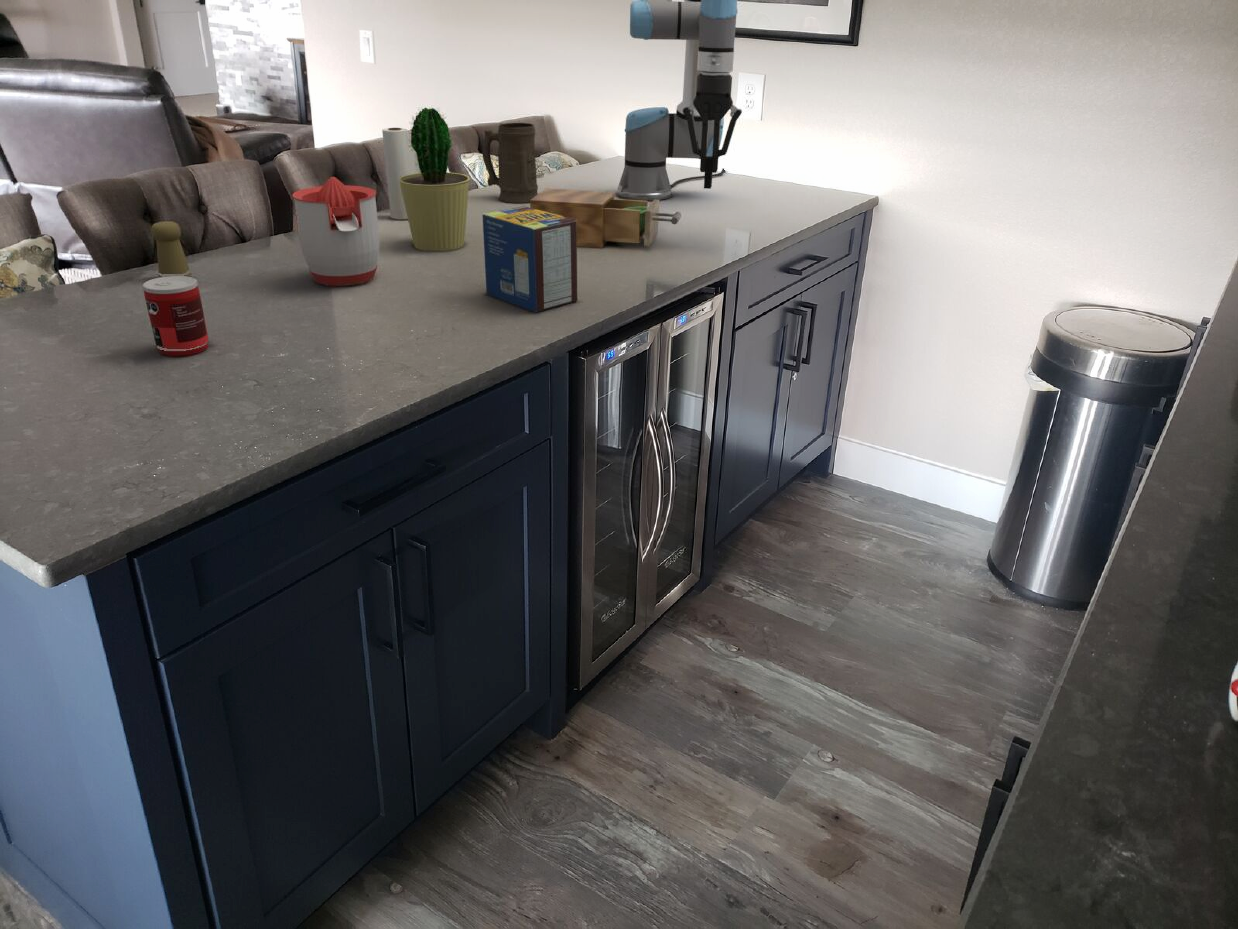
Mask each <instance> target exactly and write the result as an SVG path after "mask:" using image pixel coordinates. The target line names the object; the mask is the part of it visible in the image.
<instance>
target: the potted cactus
mask: <svg viewBox="0 0 1238 929" xmlns="http://www.w3.org/2000/svg"><path fill="white" fill-rule="evenodd" d="M418 110H419V111H418V113H417V114H415V116H414V115H411V118H412V119H411V122H409V125H410V128H409V130H411V140H410V141H411V144H412V145H411V146H412V147H413V148H412V149H413V150H415V152H416V157H417V160H418V164H419V165H418V164H417V163H416V164H417V165H418V166H419V168H420V173H415V174H409V175H405V176H402V177H400V178H399V181H400V187H401V191H402V195H403V200H404V204H405V208H406V213H407V217H408V219H407V221H408V224H409V229H410V234H411V238H412V243H413V246H414V248H415V249H418V250H420V251H427V252H447V251H454V250H459V249H461V248H462V247H464V245H465V238H466V227H467V225H466V224H467V215H468V214H467V213H468V201H469V191H470V190H469V189H470V181H471V177H470V176H469V175H467V174H464V173H458V172H449V171H448V170H450V169H451V168H450V167H449V163H450V162H449V157H450V158H453V155H452V154H451V153H450V150H451V151H454V150H453V149H452V147H453V145H452V141H454V140H455V138H453V135H452V134H453V133H455V131H452V132H449V131H450V130H449V129H450V127H449V125H448V123H447V122H446V121H445V119H446V118H447V116H445V114H444V113H441V110H440V108H438V107H437V108H434V107H431V106H430V107H429V108H427V107H425V106H424V107H418ZM444 116H445V117H444ZM408 133H409V132H408ZM409 134H410V133H409ZM451 138H453V139H451ZM407 139H408V138H407ZM408 141H409V140H408ZM409 143H410V142H409ZM411 146H408V147H411ZM412 149H411V150H412ZM415 160H416V159H415ZM415 162H416V161H415ZM452 162H454V161H452V160H451V163H452ZM414 166H415V165H414ZM416 168H417V167H416Z"/></svg>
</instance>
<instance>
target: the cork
mask: <svg viewBox="0 0 1238 929" xmlns="http://www.w3.org/2000/svg"><path fill="white" fill-rule="evenodd" d="M150 231H151V235H152V238H153V239H154V240H155V241H156V253H157V266H158V278H160V277H162V276H160V275H159V273H161V274H183V273H186V272H187V271H189V270H190V269H191V268H190V266H189V262H188V261H187V258H186V255H185V251H184V249H183V246H182V243H181V241H180V238H181V234H182V232H181V228H180V225H179V224H178V223H177V222H174V221H167V220H166V221H159V222H155V223H153V224H152V226H151V228H150ZM184 276H186V277H191V278H193V275H192V272H191V270H190V273H189V274H187V275H184Z"/></svg>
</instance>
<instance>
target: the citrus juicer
mask: <svg viewBox="0 0 1238 929" xmlns="http://www.w3.org/2000/svg"><path fill="white" fill-rule="evenodd" d="M376 195H377V191H376V190H375V189H373V188H370V187H367V186H360V185H348V184H347V185H346V184H344V183H343V182H342V181H341V180H339V179H338V178H337V177H335V176H330V177H329V178H328V179H327V180H326V181H325V182H324V184H323V185H320V186H313V187H307V188H302V189H298V190H297V191H294V192H293V193H292V195H291V197H292V198H293V200H294V209H295V214H296V223H297V229H298V235H299V242H300V246H301V251H302V254H303V257H304V260H305V263H306V265H307V267H308V270H309V272H310V275H311V276H312V278H313V279H314V281H315V282H317V283H319V284H322V285H326V286H328V287H338V286H351V285H358V284H365V283H369V282H370V281H371V280H372V279H374V278H375V275H376V273H377V269H378V262H379V261H378V260H379V256H380V255H379V254H380V229H379V222H378V221H379V220H378V210H377V209H378V208H377V201H376Z"/></svg>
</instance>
